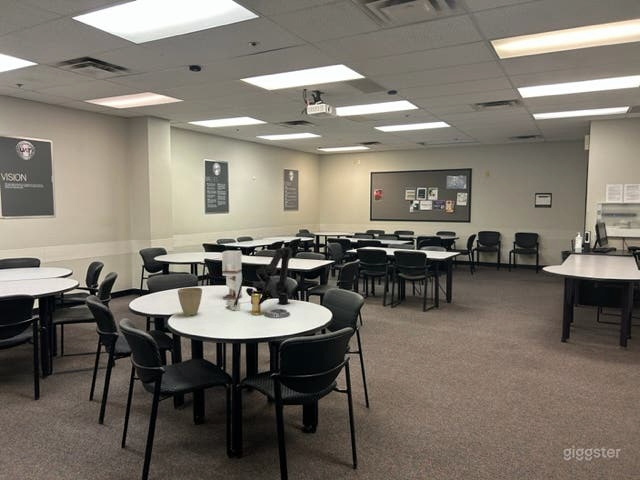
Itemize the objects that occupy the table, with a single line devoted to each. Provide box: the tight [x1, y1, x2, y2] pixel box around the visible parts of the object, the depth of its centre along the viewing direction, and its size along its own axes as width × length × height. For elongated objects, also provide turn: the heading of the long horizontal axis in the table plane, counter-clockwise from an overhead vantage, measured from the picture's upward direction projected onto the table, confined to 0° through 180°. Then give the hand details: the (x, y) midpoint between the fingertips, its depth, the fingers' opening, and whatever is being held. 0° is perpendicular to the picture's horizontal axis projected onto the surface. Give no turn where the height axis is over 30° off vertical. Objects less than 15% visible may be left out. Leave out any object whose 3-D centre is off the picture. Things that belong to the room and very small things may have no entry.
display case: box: [221, 250, 243, 301], centre depth 333 cm, size 11×11×35 cm
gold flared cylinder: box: [251, 293, 262, 316], centre depth 284 cm, size 6×6×13 cm
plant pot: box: [177, 287, 203, 317], centre depth 282 cm, size 15×15×16 cm
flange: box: [263, 308, 291, 319], centre depth 283 cm, size 16×16×2 cm
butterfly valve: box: [225, 280, 244, 312], centre depth 302 cm, size 9×20×17 cm
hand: (255, 304), depth 283 cm, fingers closed on gold flared cylinder, 5 cm apart
